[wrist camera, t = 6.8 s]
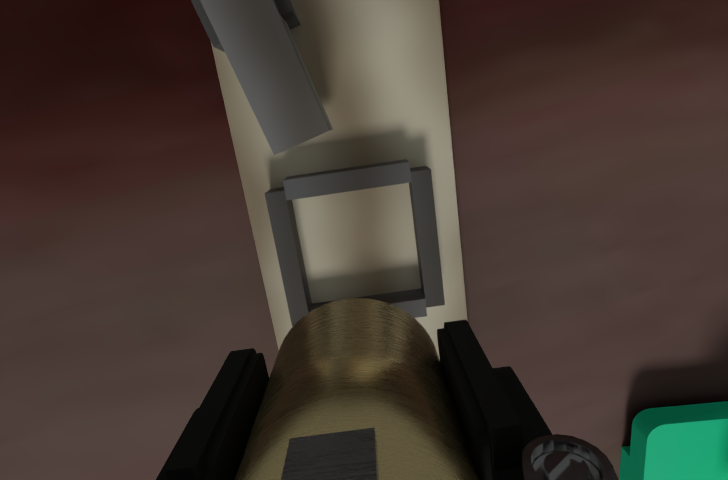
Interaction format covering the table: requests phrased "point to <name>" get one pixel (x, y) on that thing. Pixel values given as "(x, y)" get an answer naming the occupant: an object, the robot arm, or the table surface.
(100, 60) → the table surface
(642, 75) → the table surface
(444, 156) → the stand
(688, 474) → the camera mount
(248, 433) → the robot arm
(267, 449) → the yellow round-topped cylinder
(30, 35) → the table surface
